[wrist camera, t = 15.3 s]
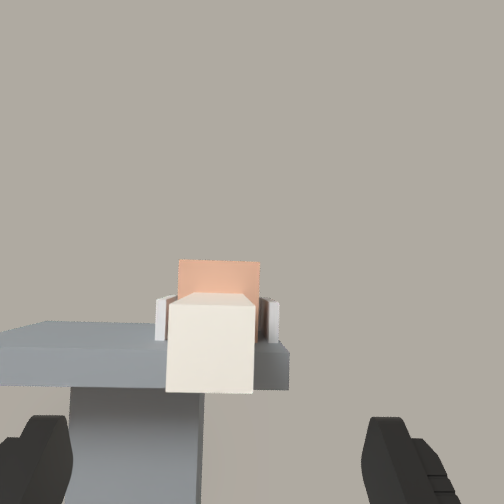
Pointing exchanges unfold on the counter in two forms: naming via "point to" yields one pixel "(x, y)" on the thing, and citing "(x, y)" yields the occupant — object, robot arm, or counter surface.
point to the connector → (213, 327)
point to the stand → (129, 402)
